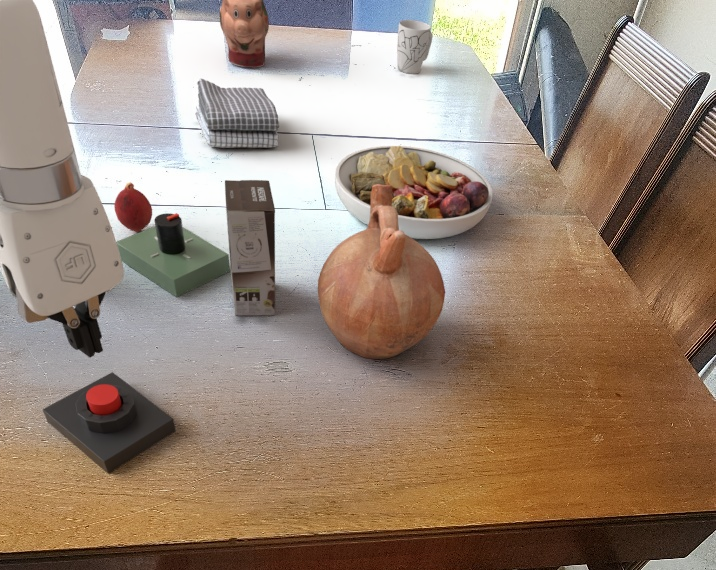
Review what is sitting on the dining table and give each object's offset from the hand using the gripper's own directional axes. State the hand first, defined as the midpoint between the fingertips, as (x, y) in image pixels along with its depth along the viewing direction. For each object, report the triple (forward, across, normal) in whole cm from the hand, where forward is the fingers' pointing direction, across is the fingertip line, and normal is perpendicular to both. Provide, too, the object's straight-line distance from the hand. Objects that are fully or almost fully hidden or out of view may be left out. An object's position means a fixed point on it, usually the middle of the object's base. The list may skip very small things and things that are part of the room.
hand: (88, 348), depth 66 cm
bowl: (+12, +76, +10) cm, 78 cm away
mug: (+12, +140, +57) cm, 152 cm away
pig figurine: (+12, +105, +86) cm, 136 cm away
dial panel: (+12, +29, +23) cm, 39 cm away
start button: (+8, 0, 0) cm, 8 cm away
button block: (+12, 0, 0) cm, 12 cm away
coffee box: (+12, +32, +8) cm, 35 cm away
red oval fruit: (+12, +31, +35) cm, 48 cm away
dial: (+9, +29, +23) cm, 38 cm away
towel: (+12, +72, +54) cm, 91 cm away
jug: (+12, +39, -11) cm, 42 cm away
